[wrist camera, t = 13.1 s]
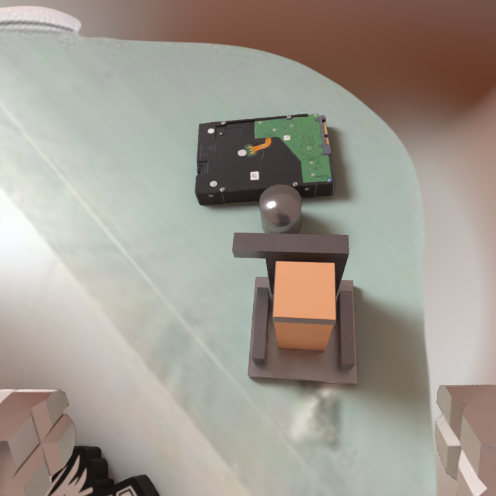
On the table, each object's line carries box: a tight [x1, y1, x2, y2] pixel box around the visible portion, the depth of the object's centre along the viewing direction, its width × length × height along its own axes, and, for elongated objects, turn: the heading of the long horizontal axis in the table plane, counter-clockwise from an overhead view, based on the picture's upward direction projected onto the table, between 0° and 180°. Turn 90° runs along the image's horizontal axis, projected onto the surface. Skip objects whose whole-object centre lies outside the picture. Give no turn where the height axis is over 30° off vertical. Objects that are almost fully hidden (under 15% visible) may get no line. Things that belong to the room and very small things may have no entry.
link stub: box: [259, 184, 301, 234], centre depth 38 cm, size 4×4×4 cm
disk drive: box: [195, 114, 335, 205], centre depth 43 cm, size 10×3×15 cm
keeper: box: [232, 233, 358, 385], centre depth 30 cm, size 9×10×10 cm
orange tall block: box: [273, 261, 336, 350], centre depth 30 cm, size 4×4×9 cm
